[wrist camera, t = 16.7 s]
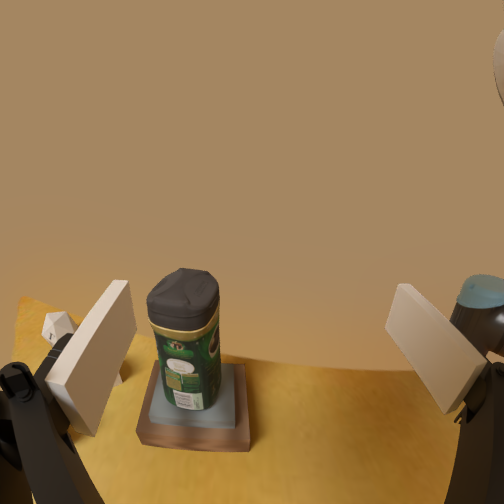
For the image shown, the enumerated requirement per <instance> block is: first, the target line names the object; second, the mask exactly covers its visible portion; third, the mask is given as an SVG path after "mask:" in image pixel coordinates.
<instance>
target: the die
mask: <svg viewBox="0 0 504 504" xmlns="http://www.w3.org/2000/svg"><path fill="white" fill-rule="evenodd" d="M77 329H78V326H77V324H76V323H75V322H74V321H73V319H72V318H71V317H70V316H69V314H68V313H67V312H66V311H65V312H56V313H46V318H45V322H44V326H43V331H42V336H43V337H44V338H45V339H46V340H47V342H48V343H49V344H50V345H51V346H52V347H53V346H54V345H55V343H56V342H57V340H58V339H60V338H61V337H62V336H64V335H65V334H66V333H72V334H74V333H75V332H76V331H77Z"/></svg>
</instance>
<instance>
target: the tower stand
mask: <svg viewBox="0 0 504 504" xmlns="http://www.w3.org/2000/svg"><path fill="white" fill-rule="evenodd" d="M221 373H222V379H221V385H220V388H219V391H218V394H217V396H216V398H215V400H214V402H213V404H212V405H211V406H210V407H209V408H207V409H204V410H199V411H195V410H186V409H182V408H179V407H177V406H175V405H173V404H171V403H169V402H168V401H167V399H166V397H165V394H164V389H163V384H162V378H161V370H160V364H159V360H155V362H154V366H153V369H152V373H151V376H150V380H149V383H148V387H147V390H146V394H145V397H144V401H143V405H142V409H141V412H140V416H139V420H138V424H137V428H136V433H137V435H138V437H139V439H140V441H141V443H142V444H143V445H149V446H156V447H164V448H172V449H182V450H194V451H213V452H249V446H250V430H249V417H248V404H247V390H246V376H245V364H223V363H221Z"/></svg>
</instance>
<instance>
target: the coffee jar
mask: <svg viewBox="0 0 504 504" xmlns="http://www.w3.org/2000/svg"><path fill="white" fill-rule="evenodd" d="M219 305H220V296H219V286H218V282H217V281H216V279H215V278H214V277H213V276H212V275H211V274H210V273H209V272H207V271H202V270H194V269H186V268H180V269H178V270H177V271H175V272H173V273H171V274H169V275H167V276H166V277H165V278H163V279H162V280H161V281H160V282H159V283H158V284H157V285H156V286H155V287H154V288H153V289H152V291H151V292H150V293H149V294H148V296H147V307H148V319H149V322H150V325H151V327H152V329H153V331H154V334H155V339H156V345H157V352H158V358H159V364H160V370H161V378H162V384H163V389H164V394H165V397H166V399H167V401H168V402H169V403H171V404H173V405H175V406H177V407H179V408H182V409H186V410H195V411H199V410H204V409H207V408H209V407H210V406H211V405H212V404H213V402H214V400H215V398H216V396H217V394H218V391H219V388H220V385H221V379H222V373H221V358H220V338H219Z"/></svg>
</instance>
